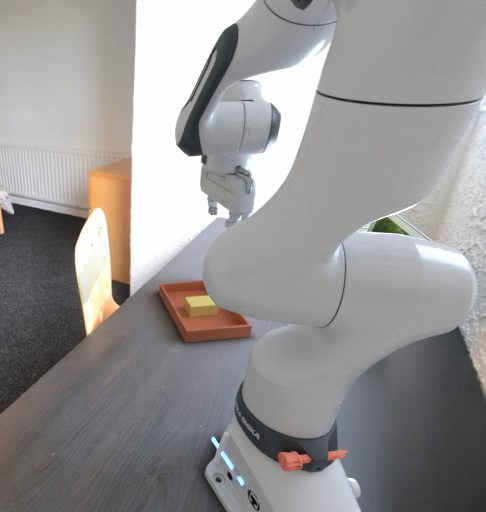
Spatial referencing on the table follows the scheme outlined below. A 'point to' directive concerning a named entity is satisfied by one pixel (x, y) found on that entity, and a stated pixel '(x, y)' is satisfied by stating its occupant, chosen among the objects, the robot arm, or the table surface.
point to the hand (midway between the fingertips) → (220, 220)
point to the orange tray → (201, 326)
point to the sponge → (200, 306)
